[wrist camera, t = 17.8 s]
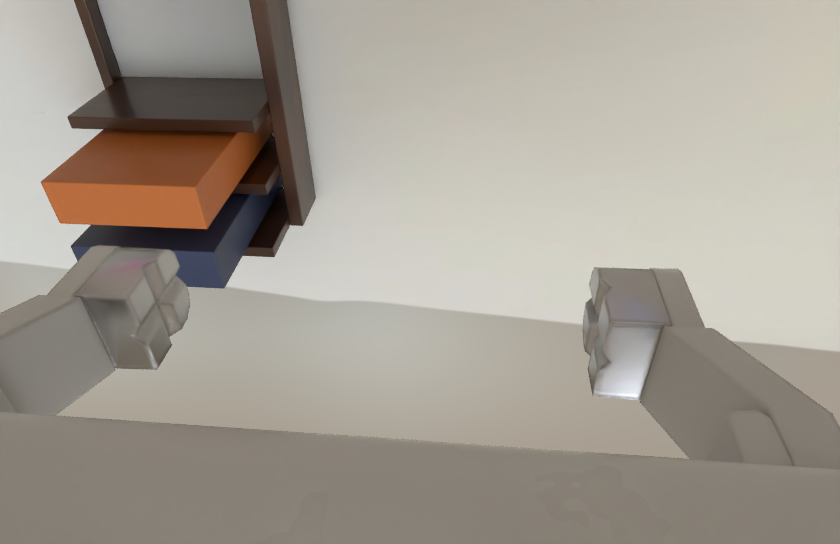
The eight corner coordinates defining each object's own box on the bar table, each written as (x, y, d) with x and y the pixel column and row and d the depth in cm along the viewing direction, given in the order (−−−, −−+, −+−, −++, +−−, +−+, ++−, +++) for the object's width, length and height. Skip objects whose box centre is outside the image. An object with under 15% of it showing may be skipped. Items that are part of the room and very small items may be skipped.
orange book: (146, 93, 43) (39, 181, 33) (266, 95, 43) (194, 186, 32) (157, 129, 45) (59, 223, 35) (273, 132, 44) (207, 229, 34)
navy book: (163, 148, 46) (69, 245, 36) (277, 151, 45) (214, 252, 35) (173, 180, 48) (86, 282, 38) (282, 184, 47) (224, 288, 37)
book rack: (26, -169, 34) (-78, -163, 28) (260, -175, 33) (206, -169, 27) (150, 192, 49) (100, 249, 43) (315, 198, 48) (288, 258, 41)
